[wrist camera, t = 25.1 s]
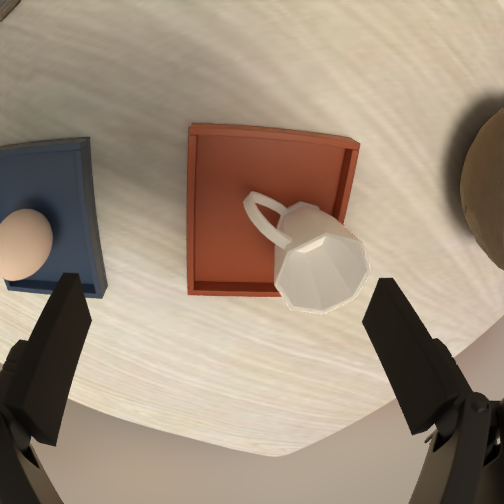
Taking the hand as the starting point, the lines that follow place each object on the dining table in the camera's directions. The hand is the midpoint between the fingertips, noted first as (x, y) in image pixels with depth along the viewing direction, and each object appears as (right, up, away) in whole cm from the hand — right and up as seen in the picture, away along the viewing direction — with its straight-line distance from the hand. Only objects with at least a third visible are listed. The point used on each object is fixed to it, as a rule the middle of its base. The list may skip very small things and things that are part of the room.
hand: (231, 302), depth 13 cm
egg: (-19, +5, +12) cm, 23 cm away
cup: (+4, +5, +15) cm, 16 cm away
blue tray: (-19, +5, +13) cm, 24 cm away
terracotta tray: (+2, +5, +15) cm, 16 cm away
